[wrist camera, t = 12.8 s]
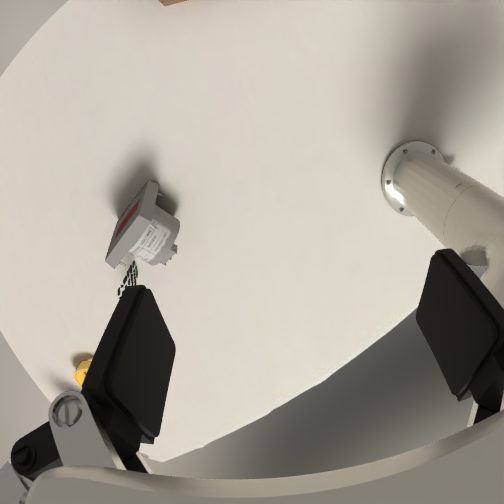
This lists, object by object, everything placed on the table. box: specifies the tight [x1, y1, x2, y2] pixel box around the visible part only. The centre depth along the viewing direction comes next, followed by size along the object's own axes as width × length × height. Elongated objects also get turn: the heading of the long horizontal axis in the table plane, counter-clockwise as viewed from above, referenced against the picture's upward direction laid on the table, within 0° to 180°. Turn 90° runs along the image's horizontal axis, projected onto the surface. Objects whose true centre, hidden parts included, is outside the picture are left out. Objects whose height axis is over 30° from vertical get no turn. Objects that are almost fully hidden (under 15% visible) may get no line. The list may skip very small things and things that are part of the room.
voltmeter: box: [105, 180, 180, 299], centre depth 43 cm, size 26×11×10 cm, turn 170°
